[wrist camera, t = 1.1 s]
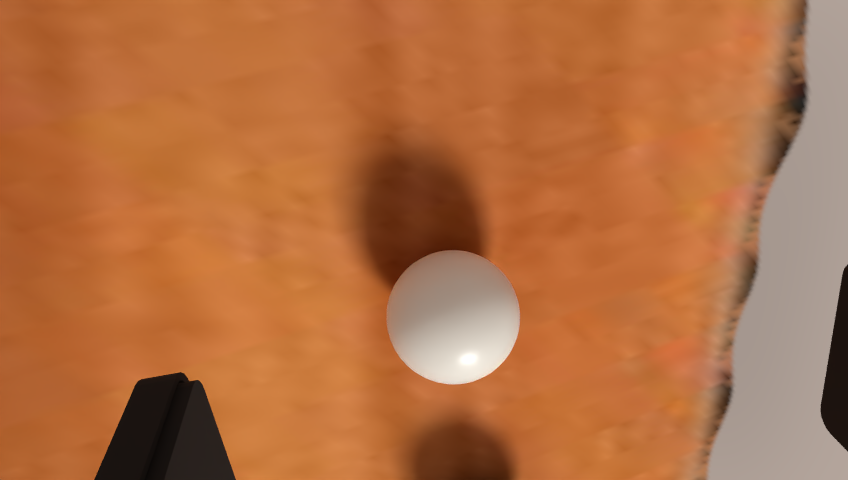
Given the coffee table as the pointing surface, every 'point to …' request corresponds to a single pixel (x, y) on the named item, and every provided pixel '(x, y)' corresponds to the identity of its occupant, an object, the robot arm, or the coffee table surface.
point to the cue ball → (453, 317)
